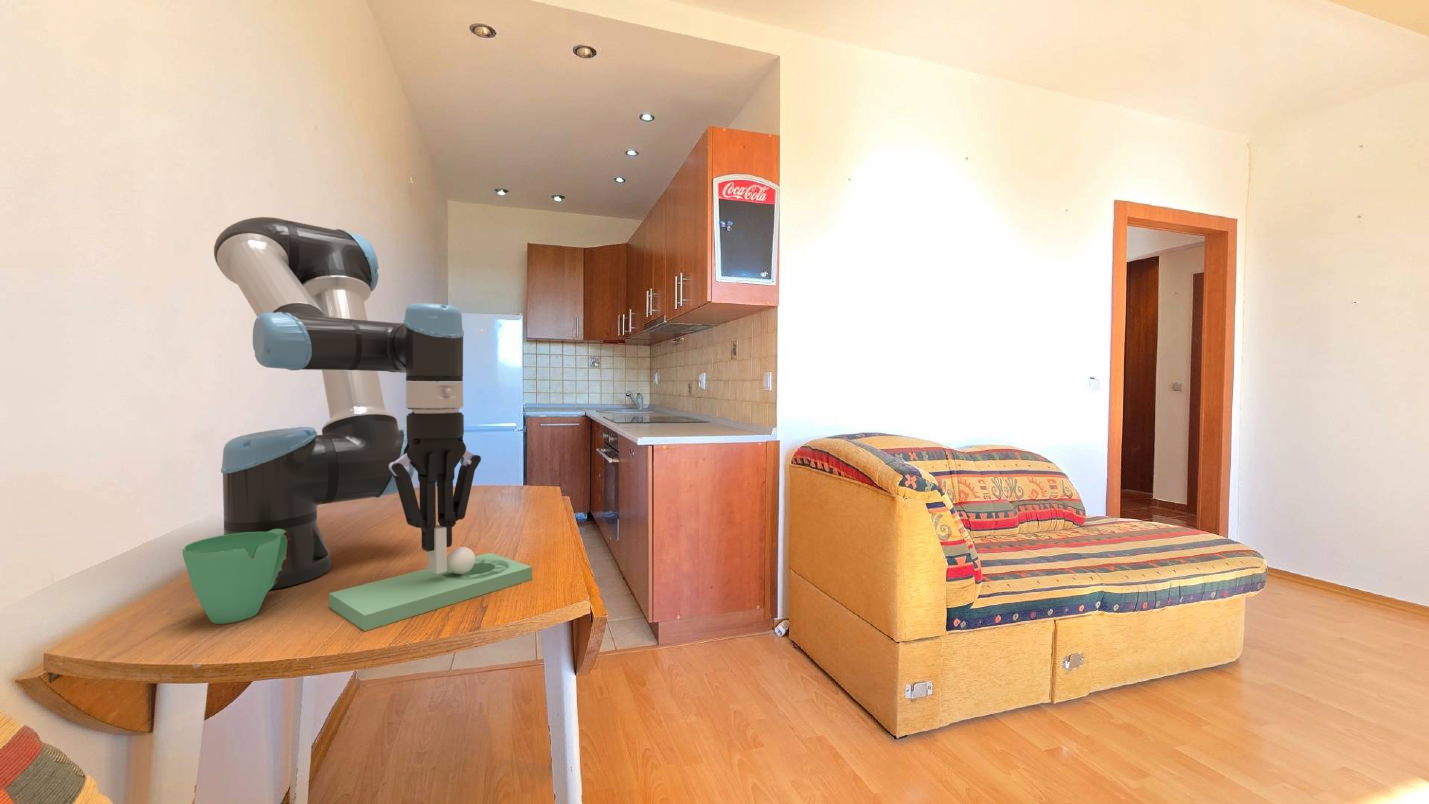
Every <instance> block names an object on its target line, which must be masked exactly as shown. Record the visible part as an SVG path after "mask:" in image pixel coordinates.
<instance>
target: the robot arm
mask: <svg viewBox="0 0 1429 804" xmlns="http://www.w3.org/2000/svg"><path fill="white" fill-rule="evenodd" d="M213 245H214V246H213V256H214V260H215V264H216V265H217V267H218V268H219V270H220V272H221V273H222V275H224V277H226V279H228V280H229V281H230V282H232V283H234V284H236V285H237V286H238V287H239V290H240V291H241V292H242V294H243V296H244V298H245V299H246V300H247V303H248V304H249V306H250V307H251V309H252V311H253V313H254V314H255V316H256V318H255V320H254V323H253V328H252V348H253V351H254V357H255V360H256V361H257V362H258V364H259V365H261V366H263V367H265V368H268V369H281V370H287V371H288V370H289V371H300V370H304V371H305V370H307V371H309V370H311V371H312V370H313V371H317V370H318V371H320V370H321V373H322V378H323V379H322V380H323V384H324V390H325V395H326V403H327V408H328V414H329V418H330V419H329V420H328V421H327V422H326V423H325V424H323V426H322V427H321V434H318V432H317V430H316V429H315V427H313V426H298V427H290V428H280V429H279V428H278V429H271V430H264V431H258V432H253V433H249V434H244V435H240V436H236V437H234V438H231V439H230V440H228V441H227V442H226V443H225V445H224V447H223V451H222V463H221V468H220V473H222V496H223V497H222V499H223V500H222V502H223V535H229V534H236V533H246V532H268V531H270V530H273V529H283V530H285V531H286V532H287V534H288V535H289V537H290V548H289V557H288V560H287V562H286V564H285V566H284V568H283V570H282V572H281V574H280V576H279V579H278V581H277V582H276V583H275V585H274V586H273V587H272V588H271V589H270V590H277V589H282V588H285V587H292V586H294V585H298V584H303V583H305V582H309V581H311V580H314V579H317V578H319V577H321V576H323V575H325V574H327V572H329V571H330V570H331V567H332V566H331V552H330V551H329V548H328V546H327V543H326V542H325V541H326V540H325V539H324V536H323V534H322V532H321V529H320V527H319V523H318V506H319V505H325V504H334V503H342V502H349V501H355V500H362V499H363V500H364V499H371V498H376V499H379V498H381V497H383V496H389V495H395V494H398V495H399V499H400V502H401V506H402V510H403V513H404V516H405V520H406V524H407V525H408V526H412V527H414V528H418V529H420V531H421V549H422V551H425V552H427V568H428V570H429V571H431V572H433V573H435V574H439V573H443V572H447V557H448V556H447V551H448V550H447V549H448V548H450V547H451V546H452V545H453V527H455V526H456V524H457V521H459V520H463V519H465V517H466V514H467V508H468V503H469V499H470V494H471V491H472V484H473V481H474V476H475V473H476V472H475V471H476V469H477V468H478V466H479V464H480V463H481V462H482V456H481V455H478V454H473V453H472V452H470V451H469V450H467V445H466V444H465V442H464V435H465V433H464V432H465V430H464V429H465V426H464V425H465V424H464V423H465V422H464V421H465V418H464V417H465V416H464V414H463V412H460V409H462V408H464V335H465V332H464V329H463V316H462V312H461V310H460V309H459V308H457V307H456V306H454V305H448V304H440V303H426V302H425V303H424V302H422V303H412V304H409V305H407V306H406V309H405V313H404V319H403V322H391V321H389V322H387V321H378V320H377V321H376V320H368V317H367V312H366V311H367V310H366V305H365V302H366V301H367V300H369V298H370V297H371V293H373V291H374V290H375V289H376V287H377V284H378V281H379V273H378V269H379V262H378V257H377V254H376V251H375V248H374V247H373V245H372V244H371V242H370V241H369V240H368V239H367V238H366V237H364V236H362V235H361V234H358V233H353V232H349V231H347V230H344V229H339V228H336V229H333V228H328V227H322V226H318V225H317V226H316V225H313V224H308V223H302V222H299V221H298V222H297V221H294V220H293V221H292V220H287V219H283V218H279V217H278V218H277V217H269V216H261V217H260V216H259V217H250V218H246V219H243V220H240V221H237V222H235V223H232V224H230V226H227V227H226V228H225V229H224V230H223V231H222V232H221V233H219V235H218V236H217V238H216V239H215V243H214V244H213ZM379 372H388V373H401V374H402V373H405V381H406V382H405V408H406V409H408V410H410V412H409V413H408V414H407V415H406V417H405V418H406V429H403V428H401V429H400V428H399V425H398V419H397V417H396V416H395V415H393V414H391V413H390V412H388V411H386V408H385V406H386V405H385V403H384V397H383V392H382V388H381V387H382V386H381V382H380V377H379ZM459 463H460V467H459V470H458V473H457V478H456V484H455V488H454V479H455V477H456V476H455V472H456V471H455V470H456V467H457V466H458V464H459ZM415 471H416V472H417V480H418V485H419V502H418V499H417V495H416V491H415V488H414V483H413V481H412V479H413V478H414V477H413V476H414V473H415ZM436 487H437V488H436ZM436 489H437V490H436ZM436 492H437V495H436ZM436 498H437V500H436ZM436 501H437V502H436ZM436 503H437V505H436ZM436 506H437V507H436ZM436 508H437V509H436ZM436 510H437V511H436ZM437 522H438V524H437ZM270 590H269V591H270Z"/></svg>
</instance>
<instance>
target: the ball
mask: <svg viewBox="0 0 1429 804" xmlns="http://www.w3.org/2000/svg"><path fill="white" fill-rule="evenodd" d="M475 556H476V554H475V552H473V550H472V549H470V548H468V547H466V546H459V547H456V548H454V549H452V550H451V551H450V552H449V554H448V556H447V567H448V569H449V570H450V571H451V572H453V573H455V574H464V573H466V572H468V571H470V570H471V569H472V567H473V566H474V564H475Z"/></svg>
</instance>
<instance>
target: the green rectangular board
mask: <svg viewBox="0 0 1429 804" xmlns="http://www.w3.org/2000/svg"><path fill="white" fill-rule="evenodd" d="M531 580H533V566H530V565H527V564H524V563H521V562H519V561H516V560H513V559H510V558H508V557H505V556H502V555H499V554H495V553H492V552H488V553H485V554H480V555H475V564H474V566H473V567H472V569H471V570H470V571H468V572H466V573H464V574H455V573H453V572H451V571H450V570H449V569H448V567H447V572H443V573H439V574H435V573H433V572H431V571H429V570H428V567H427V568H423V569H420V570H416V571H412V572H408V573H404V574H400V575H396V576H393V577H388V578H384V579H380V580H377V581H371V582H368V583H364V584H359V585H357V586H352V587H349V588H348V587H347V588H344V589H340V590H335V591H332V592H329V593H328V607H329V609H331V610H333V611H334V612H336V613H337V614H338V615H340V616H341V617H343V618H344V619H346V620H347V621H349V622H350V623H352V624H353V625H354V626H356V627H358V628H359V629H360V630H362V631H363V632H366V631H367V632H368V631H370V630H373V629H377V628H380V627H383V626H386V625H390V624H393V623H395V622H399V621H403V620H405V619H409V618H412V617H414V616H415V617H416V616H418V615H421V614H425V613H427V612H431V611H434V610H439V609H441V608H445V607H447V606H451V605H454V604H457V603H460V602H464V601H467V600H469V599H474V598H476V597H480V596H482V595H486V594H489V593H493V592H496V591H499V590H503V589H506V588H509V587H512V586H514V585H515V586H516V585H518V584H522V583H525V582H529V581H531Z"/></svg>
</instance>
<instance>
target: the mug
mask: <svg viewBox="0 0 1429 804" xmlns="http://www.w3.org/2000/svg"><path fill="white" fill-rule="evenodd" d="M289 548H290V537H289V535H288V534H287V532H286V531H285V530H283V529H273V530H270V531H268V532H246V533H236V534H229V535H224V534H223V535H216V536H212V537H207V538H203V539H200V540H197V541H194V542H191V543H189V544H186V545H184V547H183V548H182V557H183V561H184V564H185V568H186V570H187V573H188V577H189V580H190V583H191V585H192V588H193V591H194V593H195V595H196V598H197V599H198V602H199V603H200V606H201V608H202V609H203V611H204V612H205V614H206V616H207V617H208V619H209V621H210V622H211V623H212V624H217V625H225V624H231V623H233V624H234V623H236V622H241V621H244V620H248V619H250V618H253V617H254V616H256V615H257V614H258V613H259V611H260V609H261V607H262V604H263V602H264V600H265V598H266V597H267V596H266V595H267V594H268V592H269V591H270V589H271V588H272V587H273V586H274V585H275V583H276V582H277V581H278V579H279V576H280V574H281V572H282V570H283V568H284V566H285V564H286V562H287V560H288V557H289Z"/></svg>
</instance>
